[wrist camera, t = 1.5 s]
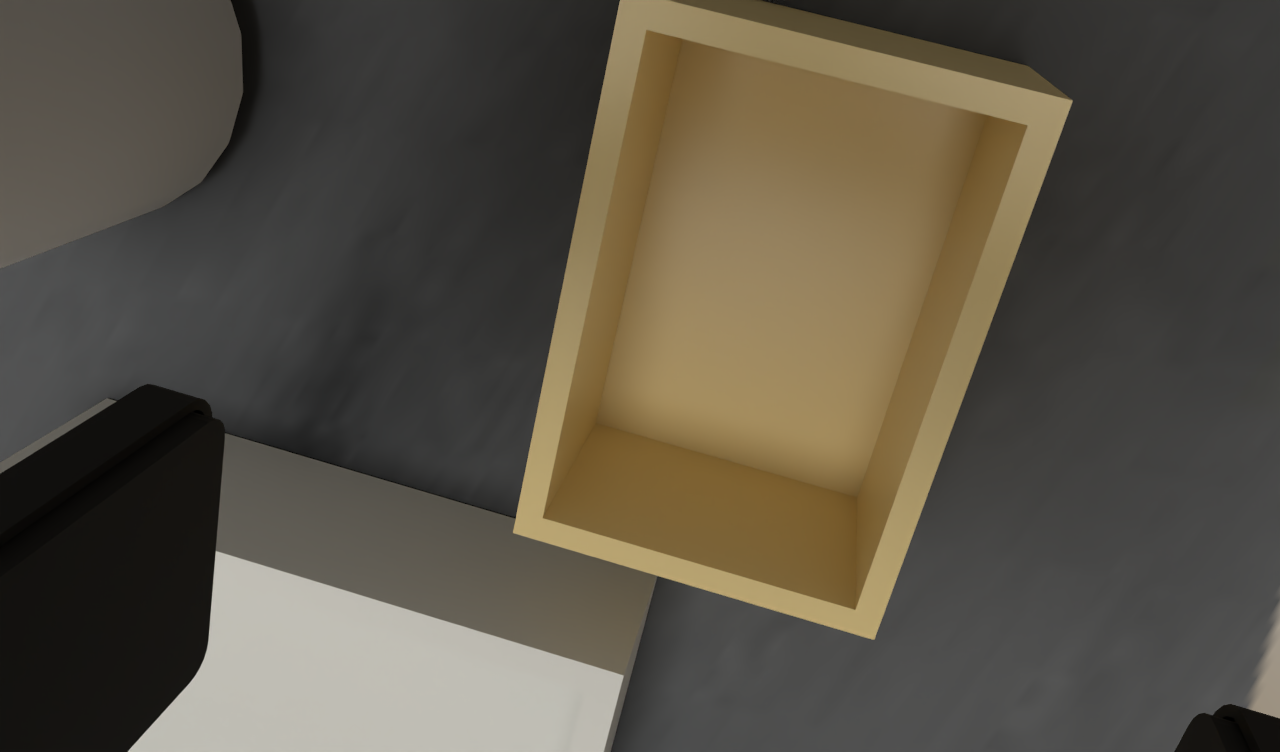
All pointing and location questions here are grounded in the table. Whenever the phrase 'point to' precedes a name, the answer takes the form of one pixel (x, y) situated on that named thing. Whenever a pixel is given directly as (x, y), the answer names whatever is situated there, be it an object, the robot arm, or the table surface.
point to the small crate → (777, 298)
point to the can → (108, 111)
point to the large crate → (394, 622)
